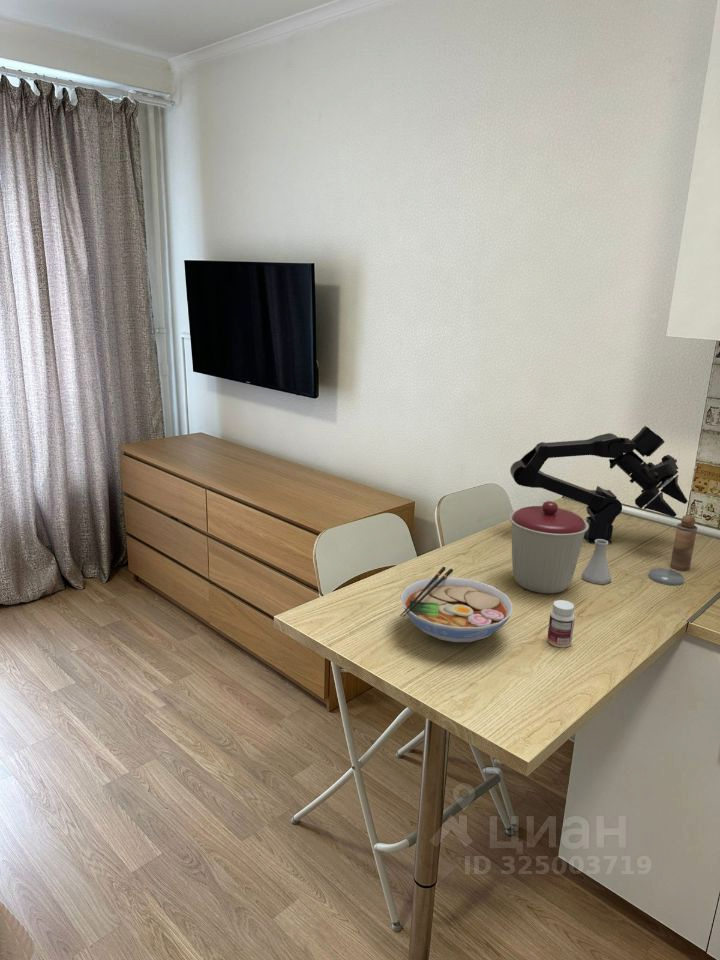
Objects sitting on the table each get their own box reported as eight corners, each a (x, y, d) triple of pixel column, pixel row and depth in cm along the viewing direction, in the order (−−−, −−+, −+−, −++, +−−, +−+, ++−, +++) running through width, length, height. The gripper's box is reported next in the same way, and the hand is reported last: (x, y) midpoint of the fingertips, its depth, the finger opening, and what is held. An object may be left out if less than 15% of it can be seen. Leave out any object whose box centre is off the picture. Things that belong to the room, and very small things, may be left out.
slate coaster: (657, 584, 163) (657, 581, 162) (643, 571, 170) (643, 567, 170) (689, 585, 163) (690, 581, 163) (673, 572, 170) (674, 568, 170)
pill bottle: (552, 633, 138) (557, 596, 136) (574, 641, 135) (580, 604, 133) (542, 642, 134) (547, 604, 132) (565, 650, 132) (570, 612, 129)
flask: (606, 587, 160) (611, 549, 157) (576, 579, 164) (581, 541, 162) (615, 578, 166) (621, 540, 163) (586, 570, 170) (591, 533, 167)
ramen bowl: (487, 678, 121) (491, 638, 119) (376, 644, 132) (378, 606, 129) (525, 622, 142) (529, 587, 140) (426, 596, 153) (429, 563, 150)
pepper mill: (675, 571, 171) (684, 518, 167) (666, 563, 176) (675, 511, 172) (693, 571, 171) (703, 518, 167) (684, 564, 176) (693, 512, 172)
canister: (550, 565, 172) (559, 487, 166) (596, 595, 156) (608, 510, 150) (488, 573, 166) (496, 493, 160) (530, 606, 150) (540, 517, 144)
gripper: (643, 461, 172) (691, 505, 168) (668, 439, 184) (713, 478, 180) (616, 487, 179) (661, 529, 175) (641, 464, 192) (684, 502, 188)
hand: (681, 509), depth 179 cm, fingers open, 9 cm apart
